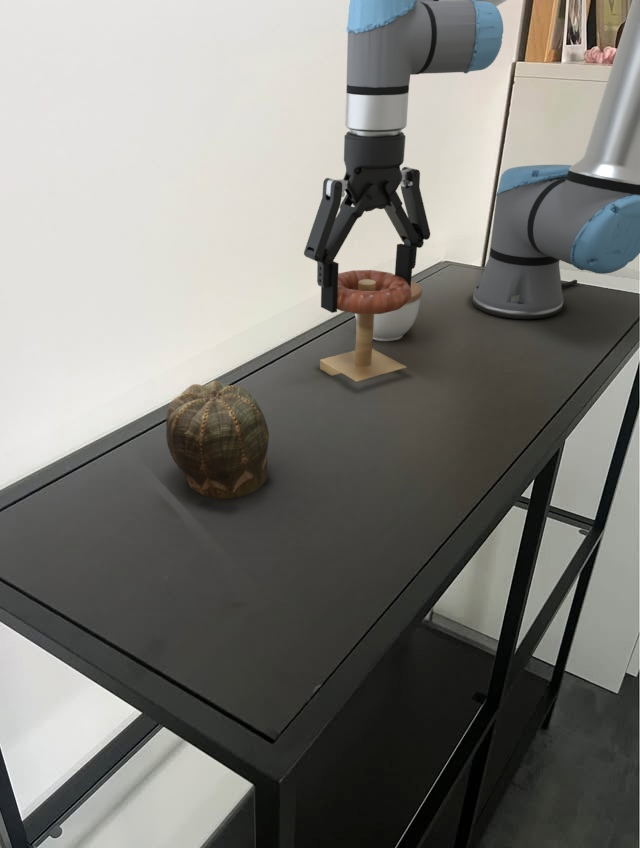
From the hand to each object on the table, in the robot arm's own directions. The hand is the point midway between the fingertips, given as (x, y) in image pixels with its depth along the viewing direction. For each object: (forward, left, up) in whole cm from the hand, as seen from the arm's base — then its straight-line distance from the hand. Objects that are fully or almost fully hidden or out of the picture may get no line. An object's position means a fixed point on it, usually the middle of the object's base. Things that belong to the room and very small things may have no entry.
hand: (366, 300), depth 106 cm
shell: (+32, +16, -11) cm, 37 cm away
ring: (0, 0, +1) cm, 1 cm away
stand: (0, 0, -11) cm, 11 cm away
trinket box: (-12, -10, -11) cm, 19 cm away
